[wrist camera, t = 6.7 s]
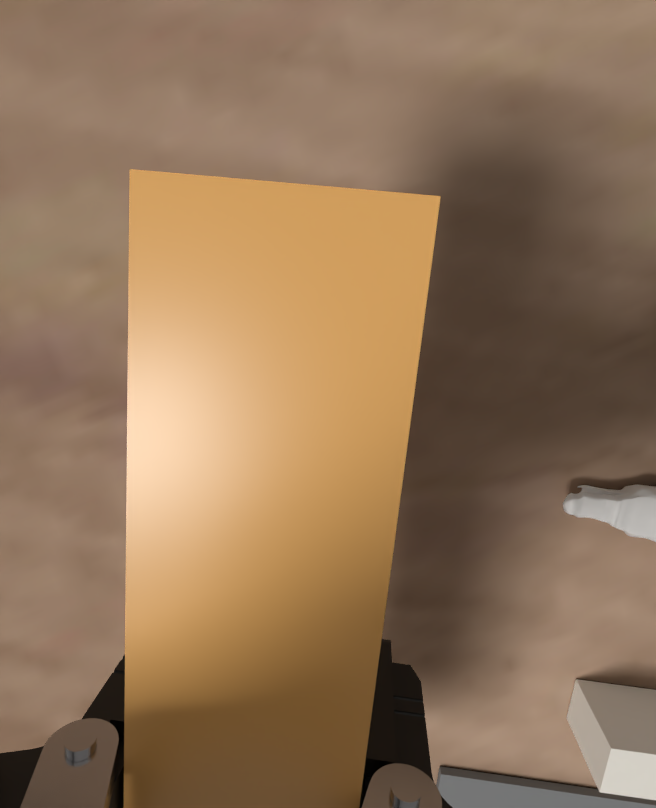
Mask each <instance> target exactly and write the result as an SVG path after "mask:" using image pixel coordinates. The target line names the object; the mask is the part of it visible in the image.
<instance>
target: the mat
mask: <svg viewBox="0 0 656 808" xmlns="http://www.w3.org/2000/svg"><path fill="white" fill-rule="evenodd" d="M436 786H437V788H438V790H439V792H440V794H441V796H442V797H443V798H444V799H445V801H446V802H447V803H448V804H449V805H450V806H452V807H453V808H656V800H650V799H643V798H636V797H629V796H622V795H615V794H608V793H601V792H599V790H598V789H593V788H586V787H579V786H572V785H565V784H558V783H551V782H544V781H538V780H531V779H524V778H517V777H510V776H503V775H496V774H489V773H482V772H475V771H468V770H461V769H455V768H448V767H441V766H440V768H439V773H438V779H437V785H436Z"/></svg>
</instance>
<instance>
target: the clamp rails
mask: <svg viewBox="0 0 656 808" xmlns="http://www.w3.org/2000/svg"><path fill="white" fill-rule="evenodd" d="M567 720H568V722H569V725H570V727H571V729H572V731H573V734H574V736H575V738H576V740H577V743H578V745H579V747H580V749H581V752H582V754H583V756H584V758H585V761H586V763H587V765H588V768H589V770H590V772H591V774H592V777H593V779H594V781H595V783H596V786H597V788H598V790H599V792H601V793H608V794H615V795H622V796H629V797H636V798H643V799H650V800H656V690H653V689H645V688H638V687H631V686H623V685H616V684H608V683H601V682H594V681H586V680H579V679H576V681H575V685H574V689H573V693H572V698H571V702H570V706H569V710H568V714H567Z"/></svg>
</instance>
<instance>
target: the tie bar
mask: <svg viewBox="0 0 656 808" xmlns="http://www.w3.org/2000/svg"><path fill="white" fill-rule="evenodd" d="M440 197H441V196H433V195H421V194H410V193H398V192H387V191H375V190H364V189H352V188H341V187H329V186H318V185H306V184H295V183H283V182H272V181H260V180H249V179H237V178H226V177H214V176H203V175H191V174H180V173H168V172H157V171H145V170H134V169H130V190H129V293H128V396H127V500H126V603H125V707H124V808H359V805H360V798H361V790H362V783H363V775H364V768H365V760H366V753H367V745H368V738H369V730H370V723H371V715H372V708H373V700H374V693H375V685H376V678H377V670H378V663H379V655H380V648H381V640H382V633H383V625H384V618H385V610H386V603H387V595H388V588H389V580H390V573H391V565H392V558H393V550H394V543H395V535H396V528H397V520H398V513H399V505H400V498H401V490H402V483H403V475H404V468H405V460H406V453H407V445H408V438H409V430H410V423H411V415H412V408H413V400H414V393H415V385H416V378H417V370H418V363H419V355H420V348H421V340H422V333H423V325H424V318H425V310H426V303H427V295H428V288H429V280H430V273H431V265H432V257H433V250H434V242H435V235H436V227H437V220H438V212H439V205H440Z"/></svg>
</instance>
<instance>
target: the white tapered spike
mask: <svg viewBox="0 0 656 808" xmlns="http://www.w3.org/2000/svg"><path fill="white" fill-rule="evenodd" d="M580 487H582V491H581V492H580V493H578V494H573V493H570V494H568V495H567V496H566V498H565V500H564V502H563V509H564V511H565V512H566V513H568V514H570V515H575V516H576V517H587V518H593V519H597V520H599V521H603V522H607V523H609V524H610V525H611V526H613V527H615V528H617V529H620V530H623V531H624V532H625V533H626V534H627V535H628V536H631V537H639V538H647V539H649V540H652V541H655V542H656V487H655V486H646V485H637V484H636V485H631V486H625V487H624V488H623V489H621V490H614V489H604V488H598V487H593V486H589V485H581V486H578V488H580Z"/></svg>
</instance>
